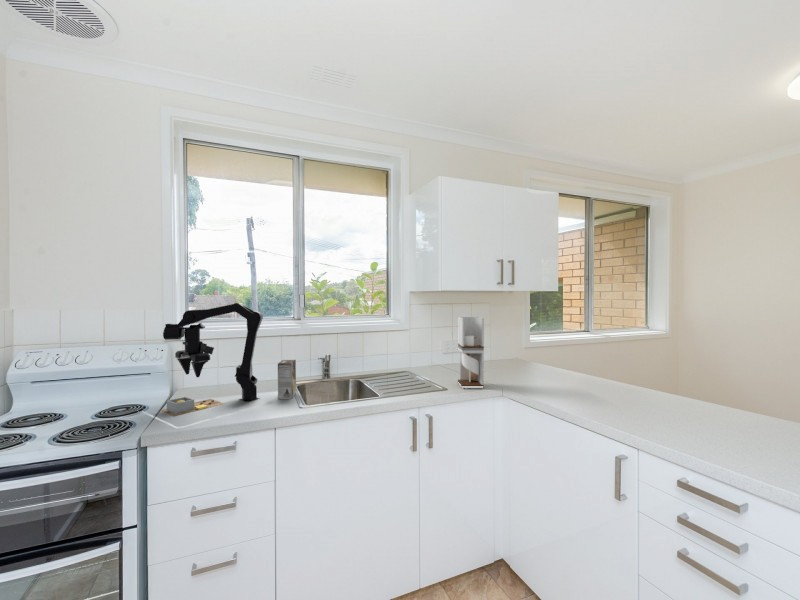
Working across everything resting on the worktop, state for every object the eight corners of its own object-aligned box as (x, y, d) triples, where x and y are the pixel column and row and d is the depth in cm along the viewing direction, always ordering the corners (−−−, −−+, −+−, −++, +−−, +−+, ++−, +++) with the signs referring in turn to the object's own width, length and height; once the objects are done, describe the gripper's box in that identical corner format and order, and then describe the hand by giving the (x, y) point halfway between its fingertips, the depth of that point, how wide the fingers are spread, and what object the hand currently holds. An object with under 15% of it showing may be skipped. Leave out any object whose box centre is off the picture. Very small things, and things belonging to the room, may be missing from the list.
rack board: (225, 405, 157) (225, 402, 157) (174, 417, 141) (174, 414, 141) (210, 400, 164) (210, 397, 164) (160, 411, 148) (160, 408, 148)
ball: (188, 409, 149) (188, 400, 149) (177, 412, 146) (177, 402, 145) (183, 407, 151) (183, 397, 151) (173, 410, 148) (172, 400, 148)
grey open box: (194, 409, 149) (194, 399, 149) (175, 414, 143) (175, 403, 143) (185, 406, 154) (185, 396, 153) (166, 410, 148) (166, 400, 148)
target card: (207, 407, 151) (207, 405, 151) (198, 410, 149) (198, 408, 148) (203, 406, 154) (203, 404, 154) (194, 408, 151) (194, 406, 151)
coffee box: (282, 393, 175) (282, 359, 175) (296, 393, 176) (296, 359, 175) (277, 399, 166) (277, 363, 166) (292, 398, 166) (292, 363, 166)
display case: (457, 383, 196) (458, 317, 195) (477, 383, 196) (478, 317, 195) (462, 389, 184) (462, 318, 183) (483, 388, 185) (483, 318, 184)
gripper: (222, 339, 160) (222, 375, 160) (200, 336, 171) (201, 369, 171) (195, 341, 151) (195, 380, 151) (174, 338, 161) (174, 374, 162)
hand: (192, 375), depth 159 cm, fingers open, 9 cm apart
